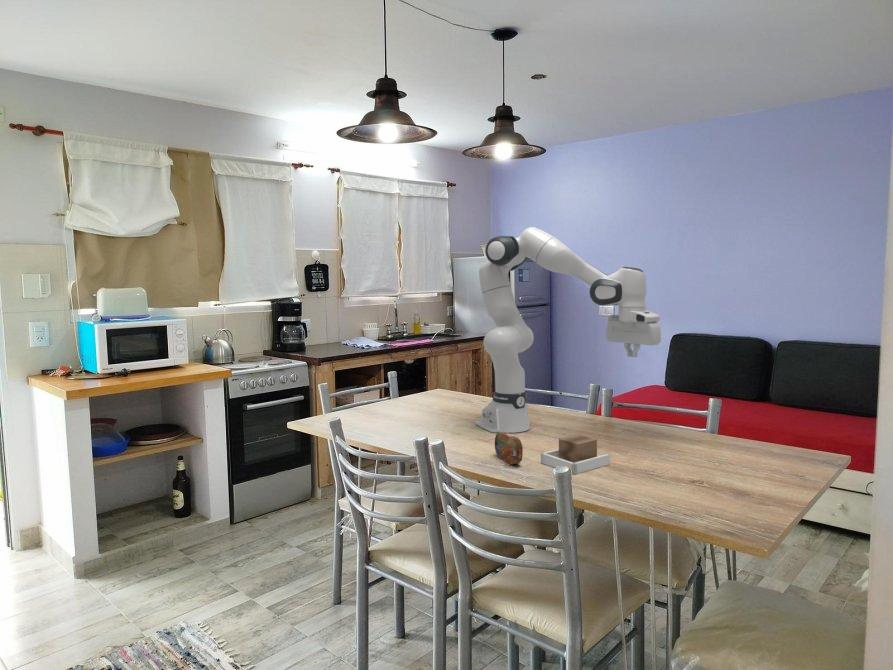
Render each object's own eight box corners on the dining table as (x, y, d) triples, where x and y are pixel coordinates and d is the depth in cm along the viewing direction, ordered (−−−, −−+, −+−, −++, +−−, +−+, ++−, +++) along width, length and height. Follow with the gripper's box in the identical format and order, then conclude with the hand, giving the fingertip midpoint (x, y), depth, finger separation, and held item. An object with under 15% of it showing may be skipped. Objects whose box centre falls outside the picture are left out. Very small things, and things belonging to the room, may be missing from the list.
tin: (494, 455, 193) (493, 429, 193) (502, 453, 194) (502, 428, 194) (515, 468, 179) (514, 440, 178) (524, 466, 180) (524, 439, 180)
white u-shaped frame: (540, 462, 184) (540, 453, 183) (575, 453, 192) (575, 444, 192) (574, 474, 172) (574, 464, 172) (609, 464, 180) (609, 454, 180)
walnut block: (559, 462, 184) (558, 438, 183) (577, 457, 188) (577, 434, 187) (578, 469, 177) (578, 444, 176) (596, 463, 181) (596, 439, 181)
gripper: (601, 315, 207) (601, 354, 208) (651, 317, 190) (651, 360, 191) (614, 314, 210) (614, 353, 212) (664, 316, 193) (663, 358, 195)
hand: (632, 356), depth 201 cm, fingers closed
